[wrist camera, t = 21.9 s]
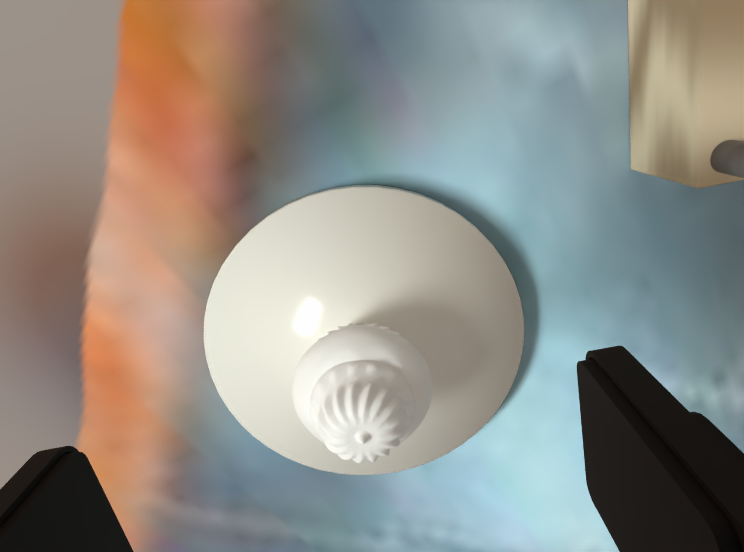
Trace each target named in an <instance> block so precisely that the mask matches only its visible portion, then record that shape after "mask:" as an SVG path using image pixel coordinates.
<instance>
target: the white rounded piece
mask: <svg viewBox="0 0 744 552" xmlns="http://www.w3.org/2000/svg"><path fill="white" fill-rule="evenodd" d="M292 399H293V404H294V407H295V410H296V413H297V415H298V417H299V419H300V420H301V422H302V423H303V424H304V426H305V427H306V428H307V429H308V430H309V431H310V432H311V433H312V434H313V435H314V436H315V437H316V438H317V439H319V440H320V441H321V442H323V443H324V444H325V445H326V447H327V448H328V449H329V450H330V451H331V452H333V453H336V454H337V455H338V456H339V457H340V458H341V459H343V460H351V459H353V461H355V462H356V463H362V462H363V461H364V460H365V459H368V460H369V461H371V462H375V461H376V459H377V458H378V456H388V455H389V452H390V449H391V448H395V447H398V446H399V445H400V443H402V442H403V441H405V440H406V439H407V438H408V437H409V436H410V435H411V434H412V433H413V432H414V431H415V430H416V429H417V428H418V427H419V425H420V424H421V422H422V421H423V419H424V418H425V416H426V414H427V412H428V409H429V407H430V403H431V399H432V379H431V375H430V371H429V368H428V366H427V363H426V361H425V360H424V358H423V356H422V355H421V354H420V352H419V351H418V350H417V349H416V348H415V347H414V346H413V345H412V344H411V343H410V342H408V340H407V339H404V338H403V337H401V336H400V334H399V333H398V332H394V331H390V329H389V327H383V326H379V325H378V324H367V323H366V322H364V323H362V324H361V325H357V324H353V323H349V324H348V325H347V326H338V327H337V329H336V330H333V331H329V332H327V333H326V336H324V337H322V338H319V339H318V340H317V342H316V343H314V344H313V345H312V346H311V347H310V348H309V349H308V350H307V351H306V353H305V354H304V355H303V357H302V358H301V360H300V361H299V363H298V365H297V367H296V370H295V373H294V376H293V382H292Z"/></svg>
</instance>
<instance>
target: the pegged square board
mask: <svg viewBox="0 0 744 552" xmlns="http://www.w3.org/2000/svg"><path fill="white" fill-rule="evenodd" d="M628 27H629V83H630V139H631V169H632V170H636V171H639V172H643V173H646V174H650V175H653V176H657V177H660V178H664V179H667V180H671V181H674V182H678V183H681V184H685V185H688V186H692V187H695V188H704V187H709V186H714V185H719V184H724V183H729V182H734V181H739V180H744V0H628Z"/></svg>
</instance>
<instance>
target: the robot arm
mask: <svg viewBox="0 0 744 552" xmlns="http://www.w3.org/2000/svg"><path fill="white" fill-rule="evenodd" d="M577 377H578V388H579V400H580V412H581V424H582V435H583V447H584V459H585V471H586V481H587V486H588V490H589V493H590V496H591V499H592V501H593V503H594V505H595V507H596V509H597V510H598V512H599V514H600V516H601V518H602V520H603V522H604V523H605V525H606V527H607V529H608V531H609V533H610V534H611V536H612V538H613V540H614V542H615V544H616V545H617V547H618V549H619V551H620V552H744V453H743V452H742V451H741V450H740V449H738V448H737V447H736V446H735V445H734V444H733V443H732V442H731V441H730V440H729V439H728V438H727V437H726V436H725V435H724V434H723V433H722V432H721V431H720V430H719V429H718V428H717V427H716V426H715V425H714V424H712V423H711V422H710V421H709V420H708V419H707V418H706V417H704V416H703V415H702V414H700V413H696V412H689V411H688V410H687V409H686V408H685V407H684V406H683V405H682V404H681V403H680V402H679V401H678V400H677V399H676V398H675V397H674V396H673V395H672V394H671V393H670V392H669V391H668V390H667V389H666V388H665V387H664V386H663V385H662V384H661V383H660V382H659V381H658V380H657V379H656V378H655V377H653V376H652V375H651V374H650V373H649V372H648V371H647V370H646V369H645V368H644V367H643V366H642V365H641V364H640V363H639V362H638V361H637V360H636V359H635V358H634V357H633V356H632V355H631V354H630V353H629V352H628V351H627V350H626V349H625V348H624V347H623V346H615V347H609V348H604V349H598V350H593V351H588V352H587V354H586V360H584V361H579V362H578V363H577ZM0 552H133V550H132V548H131V546H130V544H129V542H128V540H127V538H126V536H125V533H124V531H123V529H122V527H121V525H120V523H119V521H118V519H117V517H116V515H115V513H114V511H113V509H112V507H111V505H110V503H109V501H108V499H107V497H106V495H105V493H104V491H103V489H102V487H101V485H100V483H99V480H98V478H97V476H96V474H95V472H94V470H93V468H92V466H91V464H90V462H89V460H88V458H87V457H86V455H85V454H84V453H82V452H79V451H78V450H77V449H76V448H74V447H72V446H65V447H59V448H54V449H48V450H44V451H39V452H37V453H36V454H34V455H33V456H32V457H31V458H30V459H29V460H28V461H27V462H26V463H25V464H24V465H23V466H22V467H21V468H20V469H19V470H18V471H17V473H16V474H15V475H14V476H13V477H12V478H11V479H10V480H9V481H8V482H7V483H6V484H5V485H4V486H3V487H2V488H1V489H0Z"/></svg>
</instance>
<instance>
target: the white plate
mask: <svg viewBox="0 0 744 552" xmlns="http://www.w3.org/2000/svg"><path fill="white" fill-rule="evenodd" d="M364 322H366V323H367V324H378V325H379V326H383V327H389V329H390V331H394V332H398V333H399V334H400V336H401V337H403V338H404V339H407V340H408V342H410V343H411V344H412V345H413V346H414V347H415V348H416V349H417V350H418V351H419V352H420V354H421V355H422V356H423V358H424V360H425V361H426V363H427V366H428V368H429V371H430V375H431V379H432V399H431V403H430V407H429V409H428V412H427V414H426V416H425V418H424V419H423V421H422V422H421V424H420V425H419V427H418V428H417V429H416V430H415V431H414V432H413V433H412V434H411V435H410V436H409V437H408V438H407V439H406V440H405V441H403V442H402V443H400V445H399V446H398V447H395V448H391V449H390V452H389V455H388V456H378V458H377V459H376V461H375V462H371V461H369V460H368V459H365V460H364V461H363V462H362V463H356V462H355V461H353V459H351V460H343V459H341V458H340V457H339V456H338V455H337V454H336V453H333V452H331V451H330V450H329V449H328V448H327V447H326V445H325V444H324V443H323V442H321V441H320V440H319V439H317V438H316V437H315V436H314V435H313V434H312V433H311V432H310V431H309V430H308V429H307V428H306V427H305V426H304V424H303V423H302V422H301V420H300V419H299V417H298V415H297V413H296V410H295V407H294V404H293V399H292V382H293V376H294V373H295V370H296V367H297V365H298V363H299V361H300V360H301V358H302V357H303V355H304V354H305V353H306V351H307V350H308V349H309V348H310V347H311V346H312V345H313V344H314V343H316V342H317V340H318V339H319V338H322V337H324V336H326V333H327V332H329V331H333V330H336V329H337V327H338V326H347V325H348V324H349V323H353V324H357V325H361V324H362V323H364ZM523 343H524V316H523V311H522V305H521V299H520V296H519V293H518V290H517V287H516V284H515V281H514V279H513V277H512V275H511V273H510V271H509V269H508V267H507V265H506V263H505V262H504V260H503V259H502V257H501V256H500V255H499V253H498V252H497V250H496V249H495V248H494V246H493V245H492V244H491V243H490V241H489V240H488V239H487V238H486V237H485V236H484V235H483V234H482V233H481V232H480V231H479V230H478V229H477V228H476V227H475V226H474V225H473V224H472V223H471V222H469V221H468V220H467V219H465V218H464V217H463V216H462V215H460V214H459V213H458V212H456V211H454V210H453V209H451V208H449V207H447V206H446V205H444V204H442V203H441V202H439V201H436V200H434V199H431V198H429V197H427V196H424V195H422V194H419V193H416V192H412V191H408V190H404V189H401V188H396V187H388V186H380V185H349V186H342V187H334V188H329V189H325V190H322V191H318V192H314V193H311V194H308V195H305V196H303V197H301V198H298V199H296V200H293V201H291V202H289V203H287V204H285V205H284V206H282V207H280V208H279V209H277V210H275V211H274V212H272V213H270V214H269V215H268V216H266V217H265V218H264V219H263V220H261V221H260V222H259V223H258V224H256V225H255V226H254V227H253V228H252V229H251V230H250V231H249V232H248V233H247V234H246V235H245V236H244V237H243V238H242V239H241V241H240V242H239V243H238V244H237V245H236V246H235V248H234V249H233V251H232V252H231V253H230V255H229V256H228V258H227V259H226V261H225V262H224V263H223V265H222V267H221V269H220V271H219V273H218V275H217V277H216V279H215V281H214V283H213V286H212V289H211V292H210V295H209V298H208V301H207V307H206V313H205V319H204V345H205V353H206V359H207V363H208V366H209V370H210V374H211V377H212V379H213V381H214V384H215V386H216V388H217V390H218V393H219V395H220V396H221V398H222V399H223V401H224V403H225V404H226V406H227V408H228V409H229V410H230V412H231V413H232V414H233V415H234V417H235V418H236V419H237V420H238V421H239V423H240V424H241V425H242V426H243V427H244V428H245V429H246V430H248V431H249V432H250V433H251V434H252V435H253V436H254V437H255V438H257V439H258V440H259V441H261V442H262V443H263V444H265V445H266V446H267V447H269V448H270V449H272V450H274V451H276V452H277V453H279V454H281V455H282V456H284V457H286V458H289V459H291V460H293V461H296V462H298V463H300V464H303V465H306V466H309V467H312V468H316V469H319V470H324V471H329V472H334V473H340V474H352V475H376V474H384V473H392V472H397V471H402V470H406V469H410V468H414V467H417V466H420V465H423V464H425V463H428V462H431V461H433V460H435V459H437V458H439V457H441V456H443V455H446V454H447V453H449V452H451V451H452V450H454V449H455V448H457V447H459V446H460V445H462V444H463V443H465V442H466V441H467V440H468V439H470V438H471V437H472V436H473V435H475V434H476V433H477V432H478V431H479V430H480V429H481V428H482V427H483V426H484V425H485V424H486V423H487V422H488V421H489V420H490V419H491V418H492V416H493V415H494V414H495V412H496V411H497V410H498V408H499V407H500V406H501V404H502V403H503V401H504V399H505V398H506V396H507V394H508V392H509V391H510V389H511V387H512V384H513V382H514V379H515V377H516V375H517V372H518V368H519V364H520V361H521V357H522V351H523Z"/></svg>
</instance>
